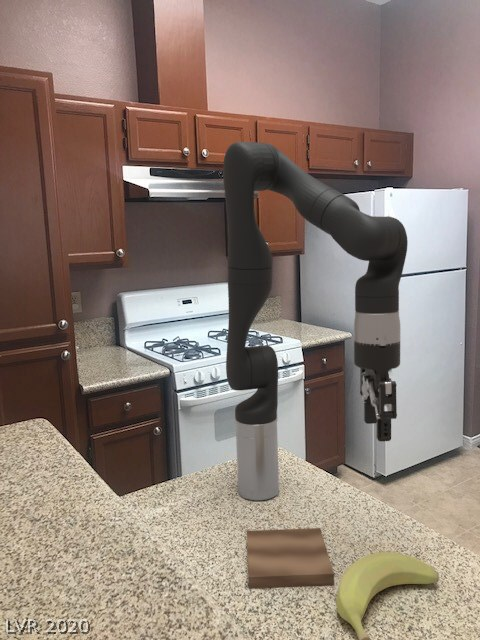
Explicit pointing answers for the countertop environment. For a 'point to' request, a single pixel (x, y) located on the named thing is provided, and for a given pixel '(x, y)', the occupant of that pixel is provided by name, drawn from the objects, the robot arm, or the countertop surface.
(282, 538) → the walnut board
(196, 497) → the countertop surface
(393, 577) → the banana
